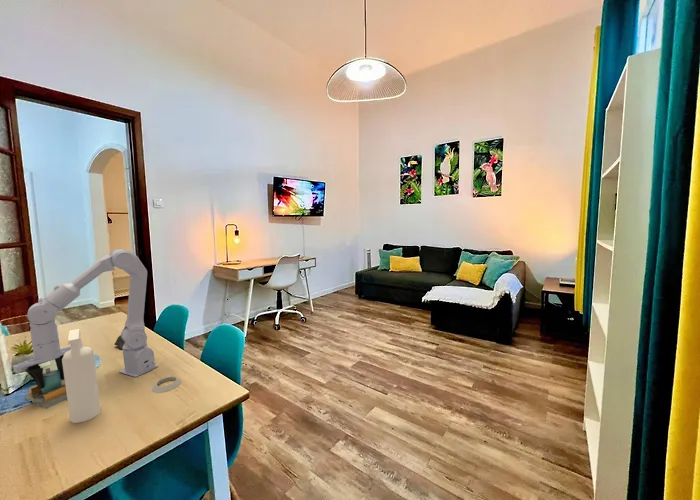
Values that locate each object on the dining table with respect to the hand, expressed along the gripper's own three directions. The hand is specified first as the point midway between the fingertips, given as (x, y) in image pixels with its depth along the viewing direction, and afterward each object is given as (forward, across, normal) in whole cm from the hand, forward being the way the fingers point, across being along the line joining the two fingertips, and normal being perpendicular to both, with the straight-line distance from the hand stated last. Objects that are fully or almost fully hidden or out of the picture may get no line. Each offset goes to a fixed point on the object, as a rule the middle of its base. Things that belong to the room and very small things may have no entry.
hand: (52, 383), depth 93 cm
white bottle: (+4, +1, +20) cm, 21 cm away
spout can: (+2, 0, 0) cm, 2 cm away
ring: (+5, -17, +28) cm, 33 cm away
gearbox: (+4, -1, 0) cm, 4 cm away
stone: (+5, -32, -20) cm, 38 cm away
